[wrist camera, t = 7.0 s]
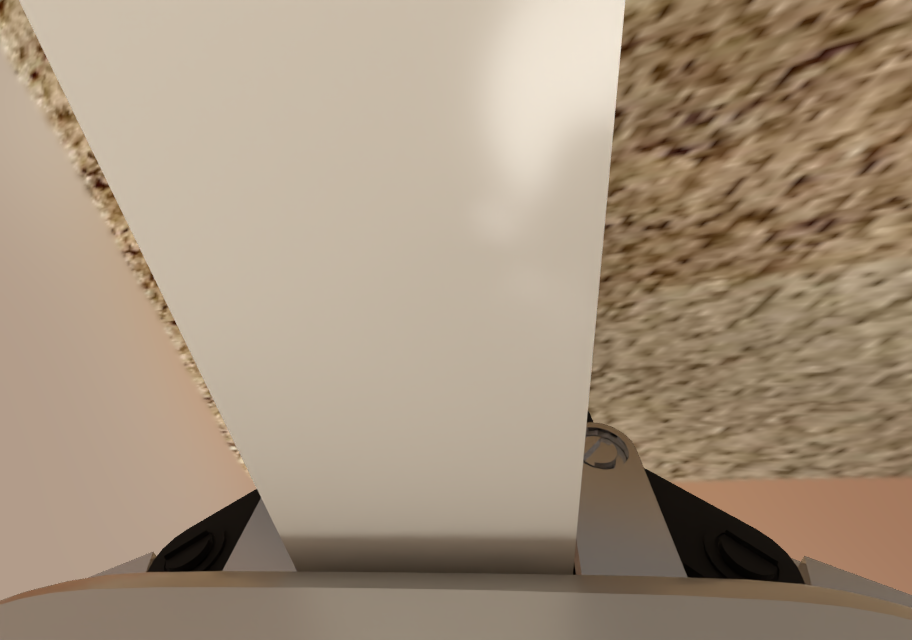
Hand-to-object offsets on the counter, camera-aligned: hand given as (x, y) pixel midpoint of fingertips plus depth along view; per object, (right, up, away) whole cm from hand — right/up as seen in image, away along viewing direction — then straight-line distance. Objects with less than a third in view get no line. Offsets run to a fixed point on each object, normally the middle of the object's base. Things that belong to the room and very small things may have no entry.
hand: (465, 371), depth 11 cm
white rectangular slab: (0, +1, +2) cm, 2 cm away
